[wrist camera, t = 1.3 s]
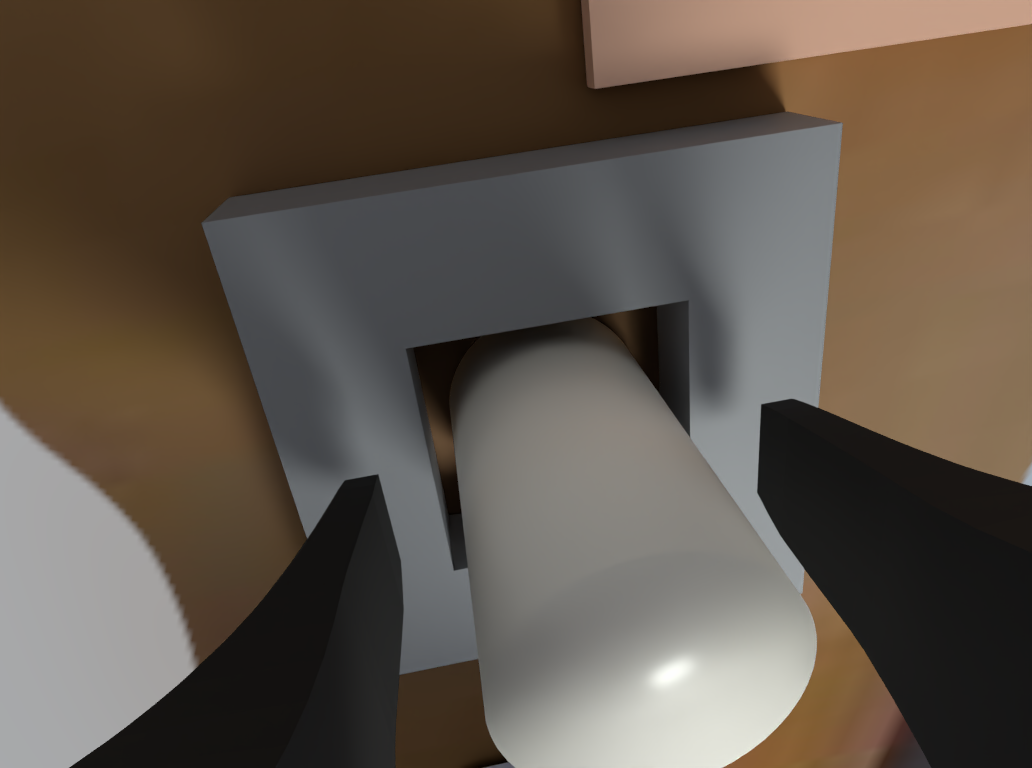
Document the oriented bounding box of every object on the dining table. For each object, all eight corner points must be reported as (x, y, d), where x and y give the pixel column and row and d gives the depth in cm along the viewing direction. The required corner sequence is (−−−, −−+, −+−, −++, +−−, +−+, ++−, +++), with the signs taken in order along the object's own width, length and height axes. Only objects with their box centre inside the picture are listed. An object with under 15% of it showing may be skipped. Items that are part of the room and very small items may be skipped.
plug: (642, 461, 17) (805, 759, 10) (465, 494, 17) (508, 823, 10) (633, 294, 15) (830, 520, 8) (433, 327, 15) (458, 592, 8)
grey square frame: (765, 540, 19) (802, 593, 17) (360, 620, 18) (355, 683, 16) (787, 111, 14) (842, 123, 12) (228, 197, 13) (201, 223, 11)
